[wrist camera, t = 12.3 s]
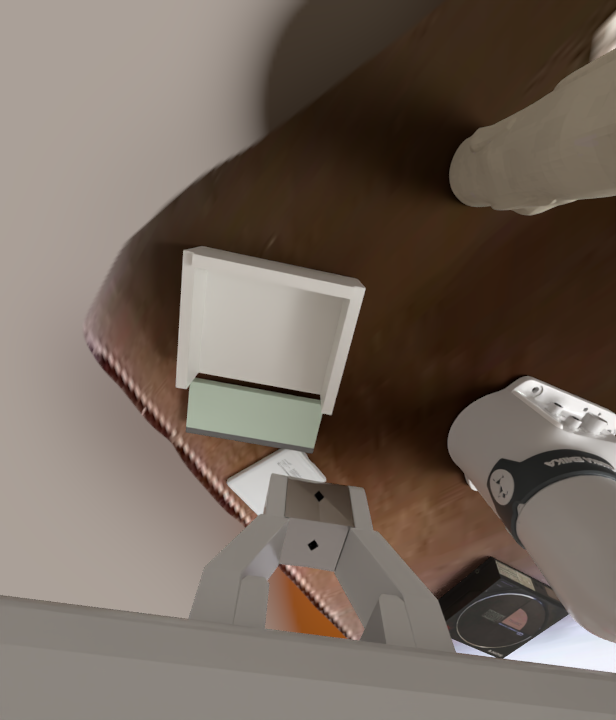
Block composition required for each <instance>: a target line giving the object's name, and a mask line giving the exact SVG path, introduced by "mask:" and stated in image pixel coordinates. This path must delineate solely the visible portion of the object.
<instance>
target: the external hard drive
mask: <svg viewBox="0 0 616 720" xmlns="http://www.w3.org/2000/svg"><path fill="white" fill-rule="evenodd" d="M272 473H274V474H280V475H285V476H292V477H297V478H303V479H308V480H313V481H319V482H325V481H326V477H325V476H324V475H323V474H322V472H321V471H320V470H319V469H318V468H317V467H316V465H315V464H314V463H312V462H311V461H310V459H309V458H308V456H307V455H306V453H305V452H300V451H294V450H288V449H282V448H281V449H279V450H277V451H276V452H274V453H272V454H270V455H268V456H267V457H265V458H263V459H261V460H260V461H258V462H256V463H255V464H253V465H251V466H249V467H247V468H246V469H244V470H242V471H241V472H239V473H237V474H235V475H234V476H232V477H230V478H228V480H227V484H228V486H229V487H230V488H231V489H232V490H233V491H234V492H235V493H236V494H237V495H238V496H239V497H240V498H241V499H242V500H243V501H244V502H245V503H246V504H247V505H248V506H249V507H250V508H251V509H252V510H253V511H254V512H255V513H256V514H257V515H260V514H263V511H264V506H265V501H266V496H267V491H268V486H269V482H270V477H271V474H272Z"/></svg>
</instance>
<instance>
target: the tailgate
mask: <svg viewBox="0 0 616 720" xmlns="http://www.w3.org/2000/svg"><path fill="white" fill-rule="evenodd" d="M322 414H323V413H321V400H317V399H311V398H305V397H300V396H294V395H289V394H283V393H278V392H272V391H267V390H261V389H256V388H250V387H245V386H239V385H234V384H228V383H223V382H217V381H212V380H206V379H201V378H194V379H193V381H192V382H191V384H190V387H189V399H188V411H187V424H186V432H187V433H193V434H199V435H205V436H211V437H217V438H223V439H229V440H235V441H241V442H247V443H253V444H259V445H265V446H271V447H276V448H282V449H288V450H294V451H300V452H306V453H313V449H314V445H315V441H316V437H317V433H318V429H319V426H320V422H321V418H322Z"/></svg>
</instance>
